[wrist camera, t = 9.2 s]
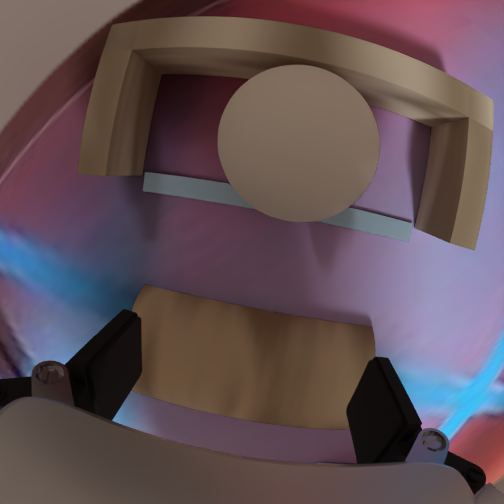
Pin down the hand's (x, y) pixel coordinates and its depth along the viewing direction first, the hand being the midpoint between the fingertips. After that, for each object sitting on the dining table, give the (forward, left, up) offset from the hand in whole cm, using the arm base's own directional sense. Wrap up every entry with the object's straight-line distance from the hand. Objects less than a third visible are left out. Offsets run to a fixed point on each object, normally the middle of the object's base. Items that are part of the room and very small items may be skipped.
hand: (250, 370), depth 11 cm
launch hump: (0, +4, -10) cm, 10 cm away
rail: (0, -10, -5) cm, 11 cm away
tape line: (0, -6, -5) cm, 8 cm away
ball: (0, -9, -2) cm, 9 cm away
